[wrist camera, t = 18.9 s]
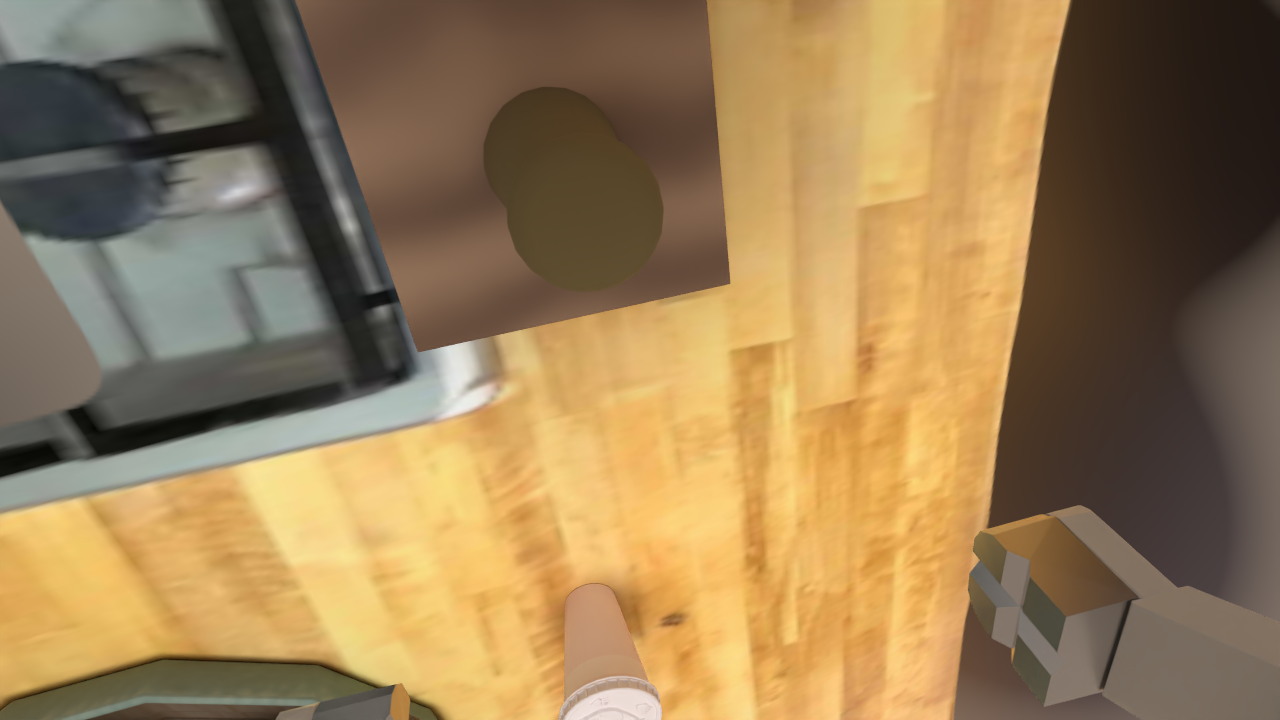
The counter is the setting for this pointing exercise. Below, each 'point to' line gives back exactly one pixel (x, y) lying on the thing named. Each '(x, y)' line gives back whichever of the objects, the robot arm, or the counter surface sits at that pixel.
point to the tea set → (193, 693)
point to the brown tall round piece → (572, 190)
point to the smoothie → (603, 662)
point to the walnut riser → (457, 128)
